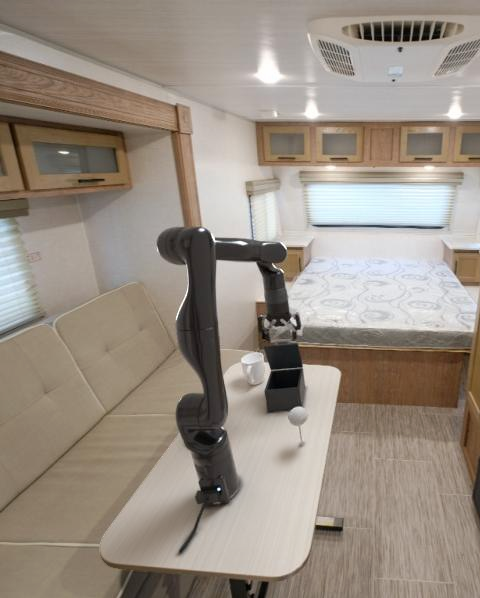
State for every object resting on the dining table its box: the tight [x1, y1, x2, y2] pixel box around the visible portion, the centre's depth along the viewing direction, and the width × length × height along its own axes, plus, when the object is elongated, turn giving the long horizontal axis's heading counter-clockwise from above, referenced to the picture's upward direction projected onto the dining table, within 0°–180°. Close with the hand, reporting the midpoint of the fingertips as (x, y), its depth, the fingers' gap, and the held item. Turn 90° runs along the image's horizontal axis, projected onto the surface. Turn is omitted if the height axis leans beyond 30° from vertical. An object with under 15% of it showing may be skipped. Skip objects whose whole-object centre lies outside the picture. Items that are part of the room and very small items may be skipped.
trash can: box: [263, 367, 306, 413], centre depth 134 cm, size 14×13×10 cm
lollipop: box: [287, 407, 309, 446], centre depth 112 cm, size 6×6×15 cm
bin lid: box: [262, 338, 304, 371], centre depth 135 cm, size 14×13×5 cm
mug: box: [240, 351, 266, 386], centre depth 144 cm, size 12×9×12 cm
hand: (282, 340), depth 123 cm, fingers open, 8 cm apart
